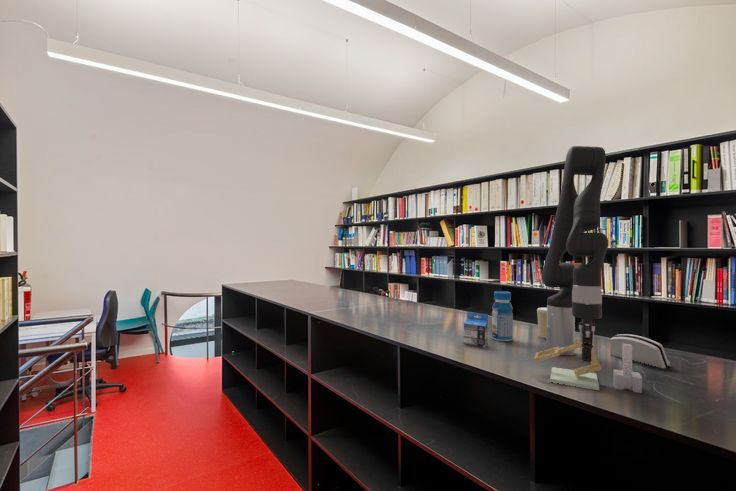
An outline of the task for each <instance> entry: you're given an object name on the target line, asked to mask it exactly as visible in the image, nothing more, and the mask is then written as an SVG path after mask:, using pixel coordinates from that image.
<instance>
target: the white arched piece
mask: <svg viewBox="0 0 736 491" xmlns="http://www.w3.org/2000/svg"><path fill="white" fill-rule="evenodd" d="M609 342H610V344H609V345H610V356H614V357H617V358H621V359H622V358H623V344H631V345H632V360H634V361H633V362H636V361H638V362H637V363H640V362H641V363H640V364H644V363H645V364H644V365H648V364H649V365H648V366H651V365H652V366H651V367H655V366H656V368H660V369H666V365H667V367H671V363H670V360H668V357H667V355H666V352H665V349H664V346H663V345H662V344H661V343H660V342H658V341H655V340H652V339H651V338H648V337H645V336H640V335H636V334H628V333H626V334H625V333H623V334H621V333H620V334H615V335H613V336H612V337H611V339H610V341H609Z"/></svg>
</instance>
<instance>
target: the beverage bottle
mask: <svg viewBox="0 0 736 491" xmlns="http://www.w3.org/2000/svg"><path fill="white" fill-rule="evenodd" d="M493 299H494V300H495V301H494V302H493V303H492V307H491V308H492V312H491V338H492V339H493V340H495V341H498V342H511V341H513V338H514V337H513V325H514V324H513V323H514V322H513V321H514V320H513V319H514V318H513V317H514V314H513V309H514V308H513V305H512V303H511V302H510V301H511V299H512V293H511V291H505V290H495V291H493Z"/></svg>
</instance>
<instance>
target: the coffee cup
mask: <svg viewBox="0 0 736 491" xmlns="http://www.w3.org/2000/svg"><path fill="white" fill-rule="evenodd" d="M536 313H537V327H538V328H537V329H538V337H540V338H541V339H546V335H547V307H538V308H537V309H536Z"/></svg>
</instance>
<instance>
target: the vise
mask: <svg viewBox="0 0 736 491" xmlns="http://www.w3.org/2000/svg"><path fill="white" fill-rule="evenodd" d="M621 359H622V360H621V361H622V364H621V365H622V367H621V369H615V368H613V370H612V374H613V375H612V377H613V382H612V383H613V387H614V389H615V390H619V391H620V390H621V391H625V390H631V391H632V392H633V393H638V394H639V393H640V394H642V393H643V377H642V375H641V374H640V372H636V371H633V361H632V345H631V344H623V358H621Z"/></svg>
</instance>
